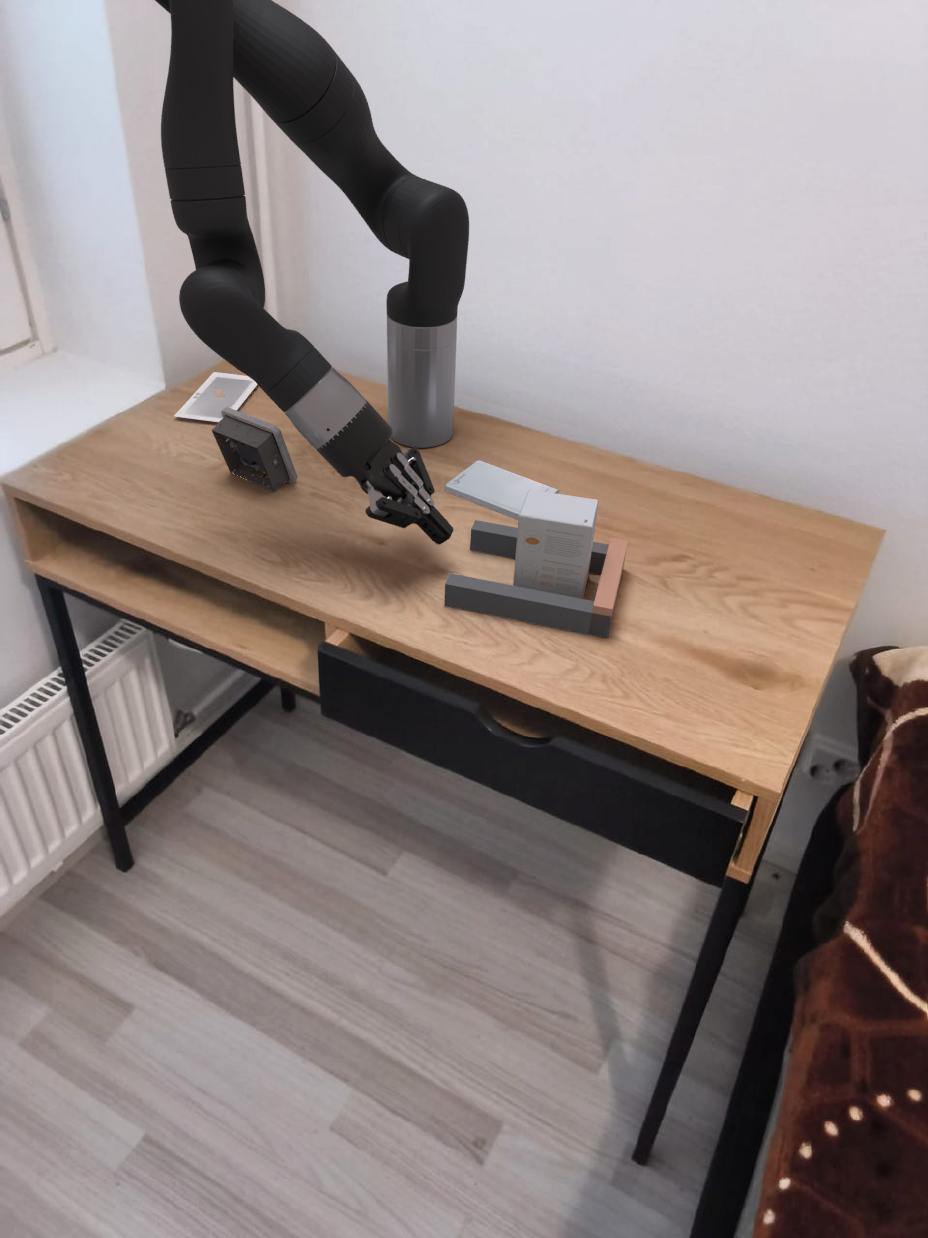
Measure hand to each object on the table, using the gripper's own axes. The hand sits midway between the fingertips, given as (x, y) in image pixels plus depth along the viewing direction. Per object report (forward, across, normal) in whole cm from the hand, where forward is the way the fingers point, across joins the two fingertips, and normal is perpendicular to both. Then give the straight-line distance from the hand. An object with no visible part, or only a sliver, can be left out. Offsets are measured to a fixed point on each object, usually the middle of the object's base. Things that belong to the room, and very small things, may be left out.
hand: (446, 537), depth 103 cm
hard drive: (+5, +18, +2) cm, 19 cm away
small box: (+12, +1, -5) cm, 13 cm away
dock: (+11, 0, -5) cm, 12 cm away
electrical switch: (-17, +11, +23) cm, 31 cm away
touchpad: (-27, +30, +34) cm, 53 cm away
